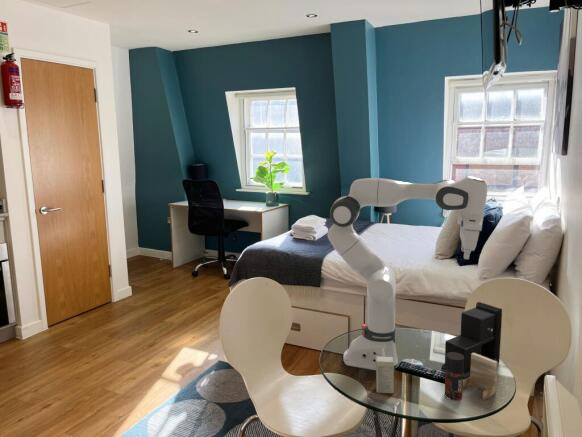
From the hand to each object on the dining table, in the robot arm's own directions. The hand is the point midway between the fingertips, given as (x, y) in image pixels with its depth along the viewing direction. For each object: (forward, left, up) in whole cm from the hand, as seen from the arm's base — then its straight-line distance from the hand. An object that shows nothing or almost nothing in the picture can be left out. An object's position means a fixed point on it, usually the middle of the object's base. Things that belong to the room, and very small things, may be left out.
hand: (464, 254), depth 169 cm
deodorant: (-6, -22, -47) cm, 52 cm away
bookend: (+4, +1, -47) cm, 47 cm away
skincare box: (-30, -22, -47) cm, 59 cm away
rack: (+3, -17, -46) cm, 50 cm away
